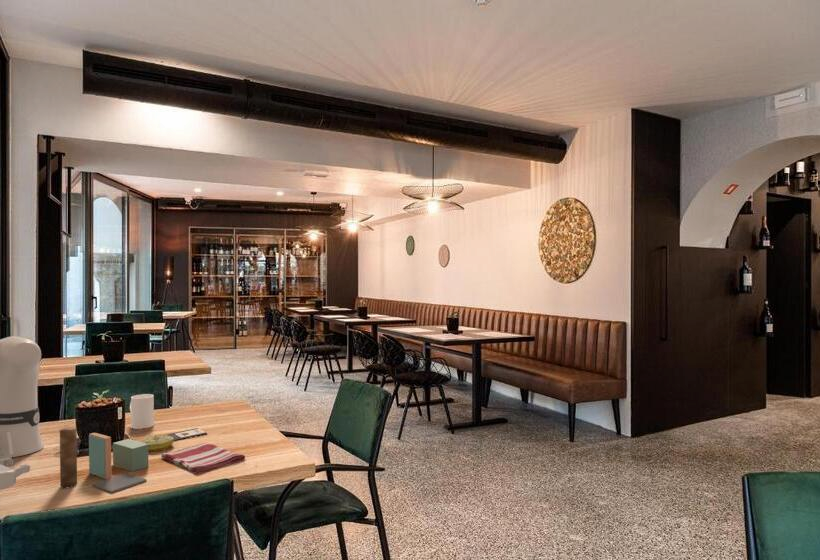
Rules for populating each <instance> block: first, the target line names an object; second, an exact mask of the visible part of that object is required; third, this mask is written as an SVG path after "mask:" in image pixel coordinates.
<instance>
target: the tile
mask: <svg viewBox="0 0 820 560" xmlns="http://www.w3.org/2000/svg"><path fill="white" fill-rule="evenodd" d="M88 467H89V468H88V470H89V471H88V473H89V474H90V473H91V474H90V475H93V476H95V475H96V476H95V477H98V476H99V477H98V478H101V479H103V480H106V479H109V478H112V437H111V436H108V435H106V434H101V433H97V432H92V433H89V435H88Z"/></svg>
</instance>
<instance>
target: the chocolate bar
mask: <svg viewBox="0 0 820 560" xmlns="http://www.w3.org/2000/svg"><path fill="white" fill-rule="evenodd" d="M205 434H206V435H208V433H207V432H205V431H204V430H202V429H200V428H196V427H195V428H191V429H186V430H182V431H176V432H172V433H167V434H165V435H168V436H171V437H173V438H174V442H178V440H179V441H183V440H187V439H186V438H188V439H191V438H190V437H192V438H196V437H195V436H197V437H201V436H200V435H202V436H206V435H205ZM182 439H183V440H182Z"/></svg>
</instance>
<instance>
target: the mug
mask: <svg viewBox="0 0 820 560" xmlns="http://www.w3.org/2000/svg"><path fill="white" fill-rule="evenodd" d="M154 405H155V401H154V394H151V393H142V394H136V395H132V396H130V402H129V412H130V417H131V418H130V419H131V421H130V422H131V423H130V429H132V428H133V429H132V430H143V428H145V429H148V428H152V427H154V426H155V413H154V412H155V411H154V410H155V406H154Z"/></svg>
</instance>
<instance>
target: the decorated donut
mask: <svg viewBox="0 0 820 560" xmlns="http://www.w3.org/2000/svg"><path fill="white" fill-rule="evenodd" d="M140 442H142V443H145V444H148V453H154V452H156V451H157V452H161V451H166V450H168V449H170V448H171V447H172V446H173V444H174V442H175V441H174V438H173V437H171V436H168V435H166V434H155V435H151V436H150V435H149V436H148V437H145V438H143V439H142V440H141V441H140Z"/></svg>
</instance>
